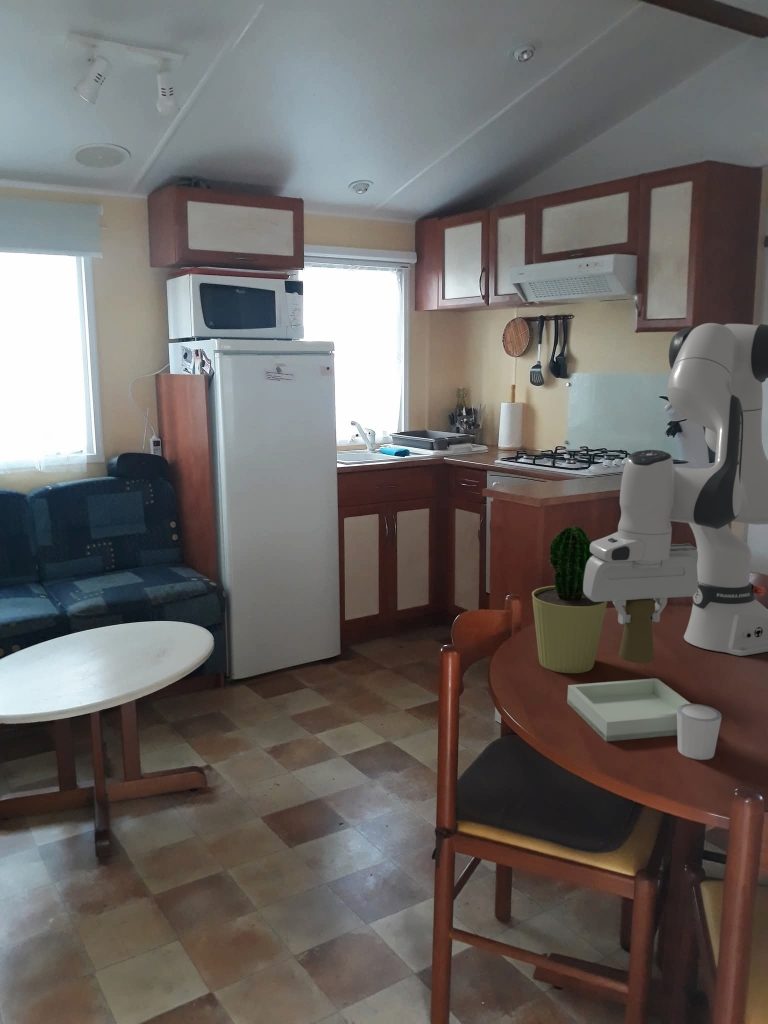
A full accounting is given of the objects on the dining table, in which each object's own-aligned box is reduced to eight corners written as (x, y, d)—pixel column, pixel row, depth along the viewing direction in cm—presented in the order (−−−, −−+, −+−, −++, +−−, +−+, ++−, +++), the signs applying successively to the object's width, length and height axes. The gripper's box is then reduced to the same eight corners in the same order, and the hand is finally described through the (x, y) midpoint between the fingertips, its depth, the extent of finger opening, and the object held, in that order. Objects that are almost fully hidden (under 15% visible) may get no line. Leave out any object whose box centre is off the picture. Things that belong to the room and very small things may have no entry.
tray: (655, 695, 159) (656, 678, 158) (702, 732, 144) (704, 713, 143) (567, 702, 156) (568, 685, 155) (605, 741, 140) (606, 722, 140)
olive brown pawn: (649, 651, 150) (653, 592, 148) (658, 663, 144) (662, 602, 142) (615, 650, 151) (619, 591, 149) (622, 662, 145) (626, 601, 143)
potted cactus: (578, 647, 185) (584, 514, 179) (618, 671, 171) (627, 528, 165) (516, 654, 180) (521, 518, 174) (552, 681, 166) (559, 533, 160)
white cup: (727, 757, 135) (731, 717, 134) (692, 764, 133) (696, 723, 131) (698, 739, 141) (701, 700, 140) (664, 745, 139) (667, 706, 138)
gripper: (688, 539, 149) (682, 613, 151) (581, 543, 145) (577, 620, 147) (708, 547, 143) (702, 624, 145) (597, 552, 139) (593, 631, 141)
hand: (638, 622), depth 146 cm, fingers closed on olive brown pawn, 4 cm apart
